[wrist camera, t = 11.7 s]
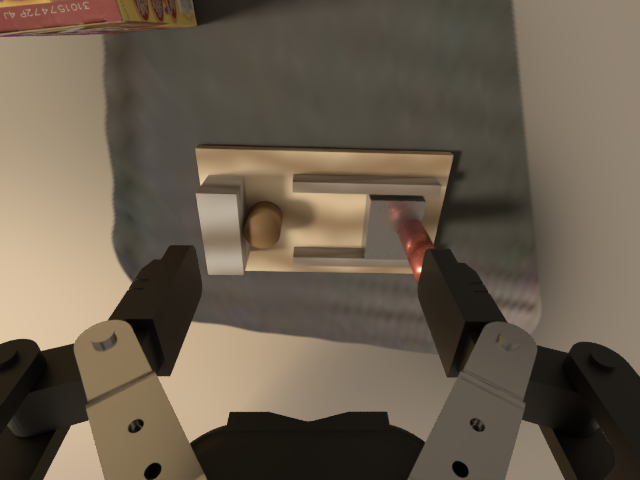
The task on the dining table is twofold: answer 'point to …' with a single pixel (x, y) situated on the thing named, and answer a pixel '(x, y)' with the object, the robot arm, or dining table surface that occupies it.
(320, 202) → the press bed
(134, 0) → the candy box
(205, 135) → the dining table surface
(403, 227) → the plate with copper rod
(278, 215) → the nut
